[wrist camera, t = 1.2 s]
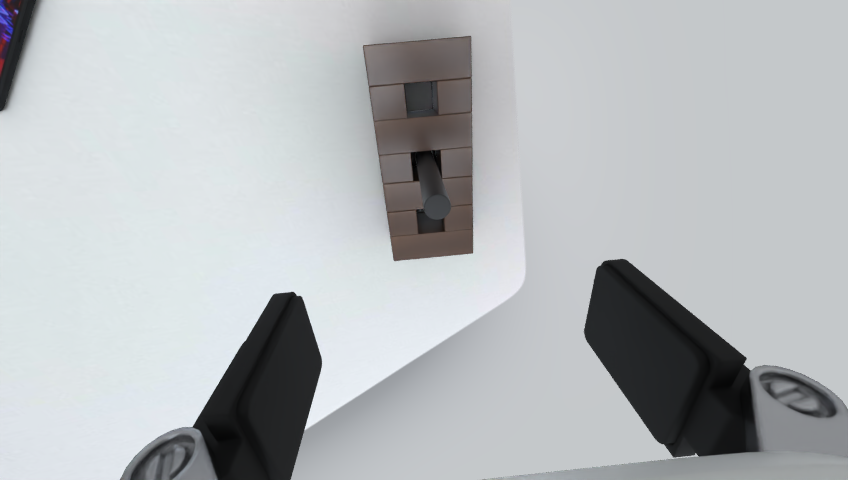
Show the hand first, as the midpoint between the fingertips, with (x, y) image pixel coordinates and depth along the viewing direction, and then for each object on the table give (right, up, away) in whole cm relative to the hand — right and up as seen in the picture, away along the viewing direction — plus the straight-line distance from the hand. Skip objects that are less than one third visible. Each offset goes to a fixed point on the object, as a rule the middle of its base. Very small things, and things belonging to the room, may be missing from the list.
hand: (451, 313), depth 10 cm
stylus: (-1, +11, +19) cm, 22 cm away
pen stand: (-1, +11, +19) cm, 22 cm away
